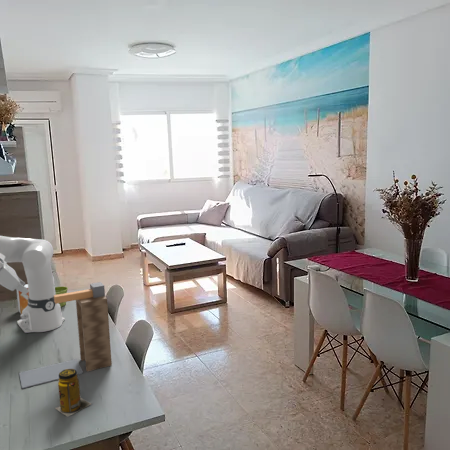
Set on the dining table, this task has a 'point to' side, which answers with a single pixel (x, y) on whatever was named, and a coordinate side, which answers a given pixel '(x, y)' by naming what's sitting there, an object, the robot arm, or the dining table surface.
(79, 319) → the walnut shelf
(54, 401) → the dining table surface
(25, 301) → the small box
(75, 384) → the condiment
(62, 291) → the plant pot
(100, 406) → the dining table surface
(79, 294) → the hammer with orange handle
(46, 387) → the dining table surface
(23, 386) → the grey mat
